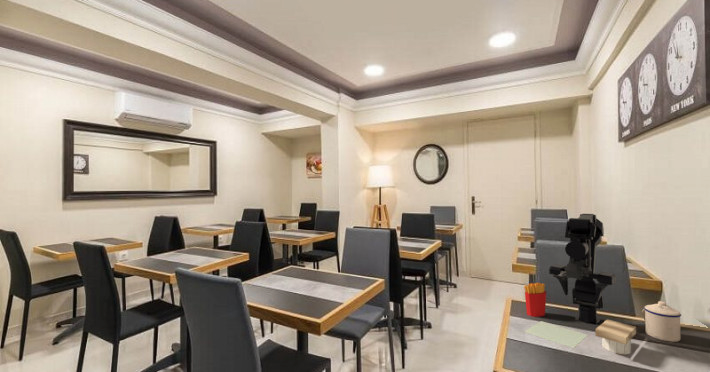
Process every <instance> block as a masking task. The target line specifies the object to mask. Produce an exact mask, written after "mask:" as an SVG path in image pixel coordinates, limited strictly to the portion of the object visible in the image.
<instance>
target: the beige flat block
mask: <svg viewBox="0 0 710 372" xmlns="http://www.w3.org/2000/svg"><path fill="white" fill-rule="evenodd" d="M594 331H595V337H598V338H601V339H602V338H605V339H608V340H612V341H615V342H618V343H622V344H625V345H626V344H627V343H628V342H629V341H630V340H631V341H632V339H633V338H634V337H635V335H636V334H637V327H636V326H634V325H632V324H628V323H624V322H619V321H615V320H612V319H606V320H604V322H602V323H601V324H600V325H599V326H597V327H596V328H595V330H594Z"/></svg>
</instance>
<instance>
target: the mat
mask: <svg viewBox="0 0 710 372" xmlns="http://www.w3.org/2000/svg"><path fill="white" fill-rule="evenodd" d="M523 332H524V333H527V334H530V335H533V336H536V337H539V338H542V339H545V340H547V341H551V342H554V343H556V344H559V345H563V346H566V347H568V348H571V349H574V348H575V347H576V346H578V345H579V344H580V343H581V342H583V341H584V340H585V339H586V338H587V337H588V336H589V335H588V334H587V333H586V334H585V333H582V332H579V331H576V330H572V329H569V328H565V327H562V326H558V325H557V324H552V323H548V322H546V321H542V320H541V321H539V322H537V323H536V324H534V325H532V326H531V327H529V328H528V329H526V330H524V331H523Z"/></svg>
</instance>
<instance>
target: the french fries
mask: <svg viewBox="0 0 710 372" xmlns="http://www.w3.org/2000/svg"><path fill="white" fill-rule="evenodd" d="M523 287H524V297H525V308H526V315H527V316H529V317H534V318H538V317H543V316H545V315H546V304H547V291H546V290H545V288H546V283H541V282H534V283H533V282H531V283H528V284H526V285H524V286H523Z"/></svg>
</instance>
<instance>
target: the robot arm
mask: <svg viewBox="0 0 710 372" xmlns="http://www.w3.org/2000/svg"><path fill="white" fill-rule="evenodd" d="M565 227H566V228H565V234H564V238H565V239H569V242H568V243H566V245H565V247H564V250H565V251H564V252H565V253H566V255H568V257H569V262H568V263H567V264H566V265H562V264H553V265H550V266H549V269H548V274H549V275H552V276H553V277H554V278H556V280H558V281H559V283H560V285H561V289H562V290H563V293H564V295H565V296H568V293H569V287H568V286H569V284H568V283H569V280H568V279H575V282H574V287H573V288H572V290H571V291H572V292H571V293H572V304H574V305H577V308H578V309H577V311H578V312H577V313H578V314H577V317H575V318H574V319H575V320H576V321H579V322H582V323H586V324H591V325H597V324H599V323H600V322H601V320H600V319H598V316H597V312H598V311H597V310H598V309H599V310H600V309H604V300H603V298H604V297H603V296H602V294H603V292H604V290H605V289H606V288H607V287H609V286H613V285H615V284H616V283H617V275H615V273H613V272H611V273H610V272H605V271H600V272H599V273H595V272H596V255H597V254H596V253H597V247H598V246H599V245H600V244H601V243H602V237H604V234H605V229H604V223H603V222H602V221H601V220H600V219H598V218H597V215H596V214H594V213H580V214H579V216H578V218H575V217H570V218H569V219H568V220H567V221H566V226H565ZM595 280H596V281H597V282H595Z"/></svg>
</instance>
